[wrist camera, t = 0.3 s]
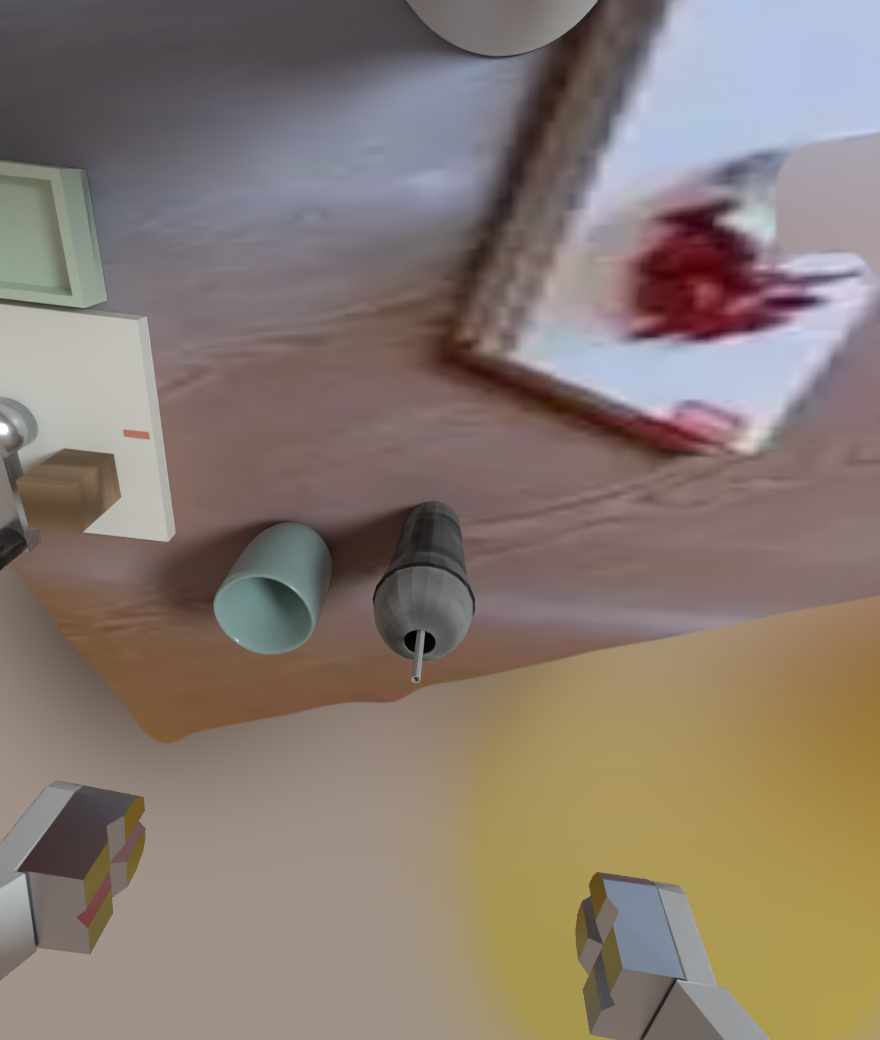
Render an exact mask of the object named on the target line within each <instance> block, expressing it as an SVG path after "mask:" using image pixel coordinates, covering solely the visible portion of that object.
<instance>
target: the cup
mask: <svg viewBox="0 0 880 1040" xmlns="http://www.w3.org/2000/svg"><path fill="white" fill-rule="evenodd" d="M331 574H332V560H331V554H330V551H329V549H328V546H327V545H326V543H325V541H324V540H323V539H322V537H321V536H320V535H319V534H318V533H317V532H316V531H315V530H314V529H312V528H310V527H309V526H307V525H304V524H302V523H297V522H284V523H278V524H275V525H273V526H270V527H268V528H267V529H265V530H263V531H262V532H260V533H259V534H258V535H257V536H256V537H255V538H253V539H252V540H251V541H250V542H249V543H248V545H247V546H246V547H245V548H244V550H243V551H242V552H241V554H240V555H239V557H238V558H237V559H236V561H235V562H234V564H233V565H232V567H231V568H230V570H229V572H228V573H227V575H226V576H225V578H224V580H223V581H222V583H221V584H220V586H219V588H218V590H217V592H216V595H215V598H214V601H213V610H214V614H215V617H216V620H217V622H218V623H219V625H220V627H221V628H222V630H223V631H224V632H225V633H226V634H227V635H228V636H229V637H230V638H231V639H232V640H233V641H234V642H236V643H237V644H238V645H240V646H242V647H244V648H245V649H247V650H250V651H253V652H256V653H261V654H279V653H284V652H288V651H291V650H293V649H295V648H297V647H299V646H301V645H302V644H303V643H305V642H306V641H307V640H308V639H309V637H310V636H311V635H312V634H313V632H314V629H315V627H316V625H317V623H318V620H319V617H320V615H321V612H322V609H323V606H324V603H325V600H326V597H327V594H328V590H329V586H330V582H331Z"/></svg>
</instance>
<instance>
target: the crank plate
mask: <svg viewBox="0 0 880 1040" xmlns="http://www.w3.org/2000/svg"><path fill="white" fill-rule="evenodd" d="M0 397H6V398H11V399H14V400H16V401H18V402H20V403H21V404H23V405H24V406H25V407H26V408H28V409H29V411H30V412H31V413H32V414H33V416H34V418H35V420H36V422H37V425H38V434H37V437H36V439H35V440H34V441H33V442H32V443H30V444H28V445H27V446H25V447H23V448H22V449H20V450H18V451H17V452H18V456H19V460H20V464H21V467H22V471H23V475H25V474H26V473H28V472H29V471H31V470H32V469H34V468H35V467H37V466H38V465H40V464H41V463H43V462H45V461H46V460H48V459H49V458H51V457H52V456H54V455H55V454H57V453H58V452H60V451H61V450H63V449H64V448H66V449H75V450H83V451H92V452H101V453H109V454H114V458H115V464H116V470H117V475H118V481H119V486H120V492H121V498H120V499H119V500H118V501H117V502H116V503H115V504H113V505H112V506H111V507H110V508H109V509H108V510H107V511H106V512H105V513H104V514H102V515H101V516H100V517H99V518H98V519H97V520H96V521H95V522H94V523H92V524H91V525H90V526H89V527H88V528H87V529H86V530H85V531H84V532H86V533H95V534H104V535H113V536H121V537H130V538H139V539H148V540H156V541H165V542H169V540H170V539H171V538H172V537H173V536H174V535H175V533H176V532H175V524H174V517H173V509H172V502H171V494H170V487H169V479H168V472H167V464H166V457H165V449H164V442H163V434H162V427H161V419H160V412H159V404H158V397H157V389H156V382H155V374H154V367H153V359H152V352H151V344H150V337H149V329H148V322H147V316H141V315H132V314H124V313H115V312H107V311H99V310H90V309H82V308H73V307H65V306H56V305H48V304H39V303H31V302H23V301H14V300H6V299H0Z"/></svg>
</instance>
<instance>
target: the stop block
mask: <svg viewBox="0 0 880 1040" xmlns="http://www.w3.org/2000/svg"><path fill="white" fill-rule="evenodd" d="M16 483H17V487H18V491H19V494H20V498H21V501H22V505H23V509H24V512H25V516H26V520H27V523H28V527H29V528H37V529H46V530H54V531H63V532H72V533H83V532H84V531H85V530H86V529H87V528H88V527H89V526H90V525H91V524H92V523H94V522H95V521H96V520H97V519H98V518H99V517H100V516H101V515H102V514H104V513H105V512H106V511H107V510H108V509H109V508H110V507H111V506H112V505H113V504H115V503H116V502H117V501H118V500H119V499H120V498H121V492H120V486H119V481H118V475H117V470H116V464H115V458H114V454H109V453H101V452H92V451H83V450H75V449H66V448H64V449H63V450H61V451H60V452H58V453H57V454H55V455H54V456H52V457H51V458H49V459H48V460H46V461H45V462H43V463H41V464H40V465H38V466H37V467H35V468H34V469H32V470H31V471H29V472H28V473H26V474H25V475H23V476H22V477H20V478H19V479H17V480H16Z"/></svg>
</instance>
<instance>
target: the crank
mask: <svg viewBox="0 0 880 1040" xmlns="http://www.w3.org/2000/svg"><path fill="white" fill-rule="evenodd" d="M37 434H38V425H37V422H36V420H35V418H34V416H33V414H32V413H31V412H30V411H29V409H28V408H26V407H25V406H24V405H23V404H21V403H20V402H18V401H16V400H14V399H11V398H6V397H0V570H2V569H3V568H4V567H5V566H6V565H8V564H9V563H10V562H11V561H12V560H14V559H15V558H16V557H17V556H18V555H20V554H21V553H22V552H30V551H32V550H33V549H34V548H35V547H36V546H38V545H39V544H40V543H41V539H40V535H39V531H38V529H37V528H29V527H28V523H27V520H26V516H25V512H24V509H23V505H22V501H21V498H20V494H19V491H18V487H17V483H16V480H17V479H19V478H20V477H22V476H23V471H22V467H21V464H20V460H19V456H18V452H17V451H18V450H20V449H22V448H23V447H25V446H27V445H28V444H30V443H32V442H33V441H34V440H35V439H36V437H37Z"/></svg>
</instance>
